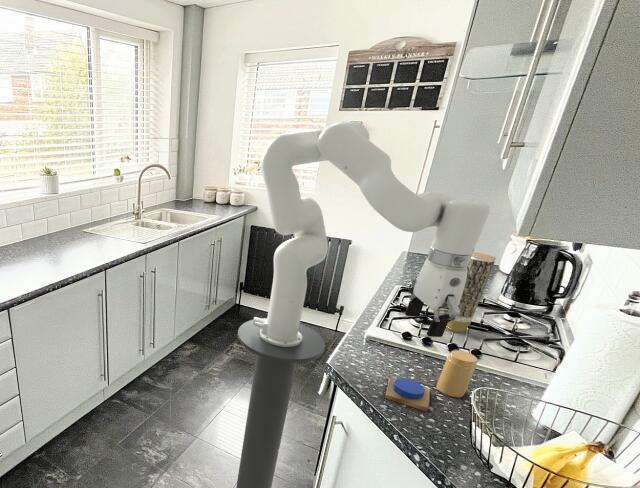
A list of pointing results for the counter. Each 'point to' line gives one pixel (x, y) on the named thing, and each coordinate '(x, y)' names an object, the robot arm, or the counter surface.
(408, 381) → the jar lid
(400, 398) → the block
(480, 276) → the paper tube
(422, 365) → the counter surface
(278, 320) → the robot arm
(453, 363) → the jar
